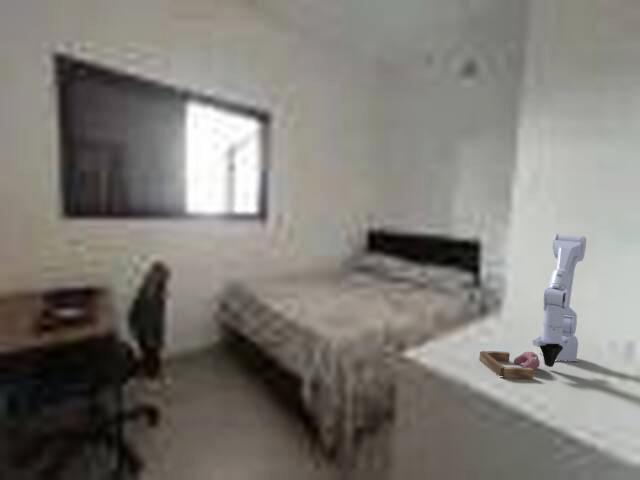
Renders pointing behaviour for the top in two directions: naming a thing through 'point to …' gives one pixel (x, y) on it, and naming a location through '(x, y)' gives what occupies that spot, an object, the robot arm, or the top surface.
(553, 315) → the robot arm
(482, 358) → the docking bay
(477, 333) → the top surface
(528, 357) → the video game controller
